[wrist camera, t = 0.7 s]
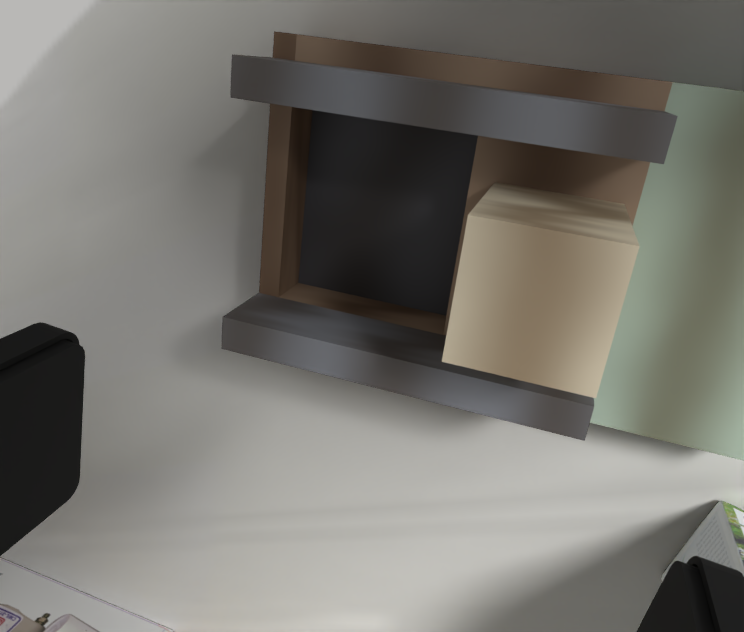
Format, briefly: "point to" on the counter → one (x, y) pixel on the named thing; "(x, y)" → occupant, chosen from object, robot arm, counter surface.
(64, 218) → the counter surface
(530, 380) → the ash block
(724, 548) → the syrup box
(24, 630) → the packaging box
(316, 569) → the counter surface
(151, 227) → the counter surface
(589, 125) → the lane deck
